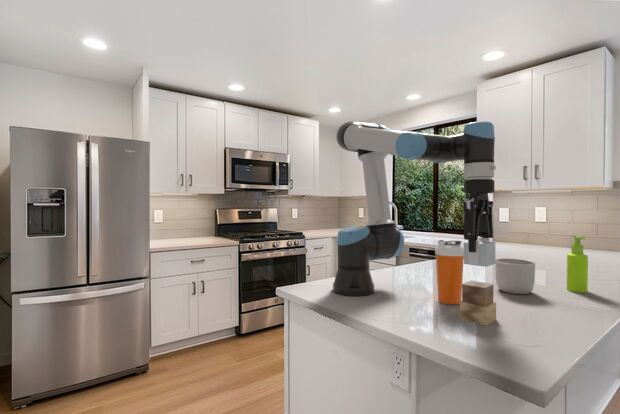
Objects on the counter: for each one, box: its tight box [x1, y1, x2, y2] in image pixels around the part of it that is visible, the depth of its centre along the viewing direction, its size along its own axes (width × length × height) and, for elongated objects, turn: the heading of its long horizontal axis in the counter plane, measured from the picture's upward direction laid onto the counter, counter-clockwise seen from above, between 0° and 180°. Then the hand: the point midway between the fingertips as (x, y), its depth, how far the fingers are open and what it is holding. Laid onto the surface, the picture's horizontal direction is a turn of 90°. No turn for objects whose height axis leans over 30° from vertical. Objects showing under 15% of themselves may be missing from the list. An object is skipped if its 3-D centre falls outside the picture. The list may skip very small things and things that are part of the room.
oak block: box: [459, 300, 497, 327], centre depth 93 cm, size 7×7×5 cm
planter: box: [494, 257, 536, 295], centre depth 120 cm, size 12×12×11 cm
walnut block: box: [461, 280, 494, 307], centre depth 93 cm, size 6×6×5 cm
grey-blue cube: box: [463, 241, 496, 268], centre depth 92 cm, size 6×6×6 cm
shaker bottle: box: [434, 239, 464, 305], centre depth 109 cm, size 9×9×20 cm
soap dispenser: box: [566, 235, 589, 294], centre depth 120 cm, size 6×7×20 cm
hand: (478, 262), depth 92 cm, fingers closed on grey-blue cube, 6 cm apart
